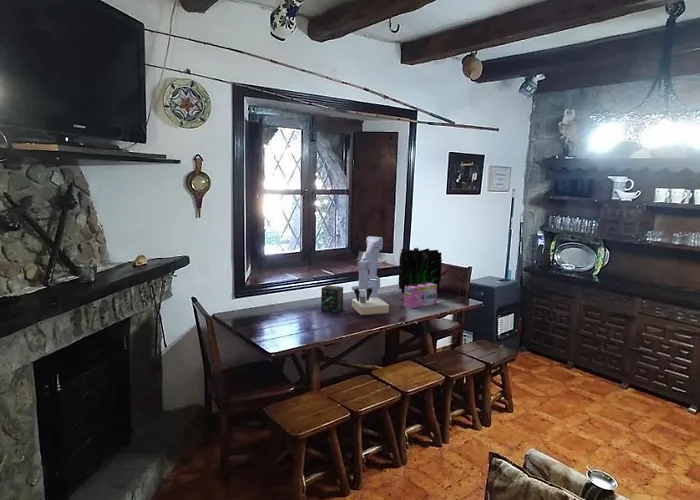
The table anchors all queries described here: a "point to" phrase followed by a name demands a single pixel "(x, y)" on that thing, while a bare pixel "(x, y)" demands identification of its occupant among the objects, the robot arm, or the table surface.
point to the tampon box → (332, 298)
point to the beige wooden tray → (370, 309)
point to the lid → (370, 302)
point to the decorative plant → (419, 267)
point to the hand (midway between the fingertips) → (362, 300)
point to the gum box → (420, 295)
